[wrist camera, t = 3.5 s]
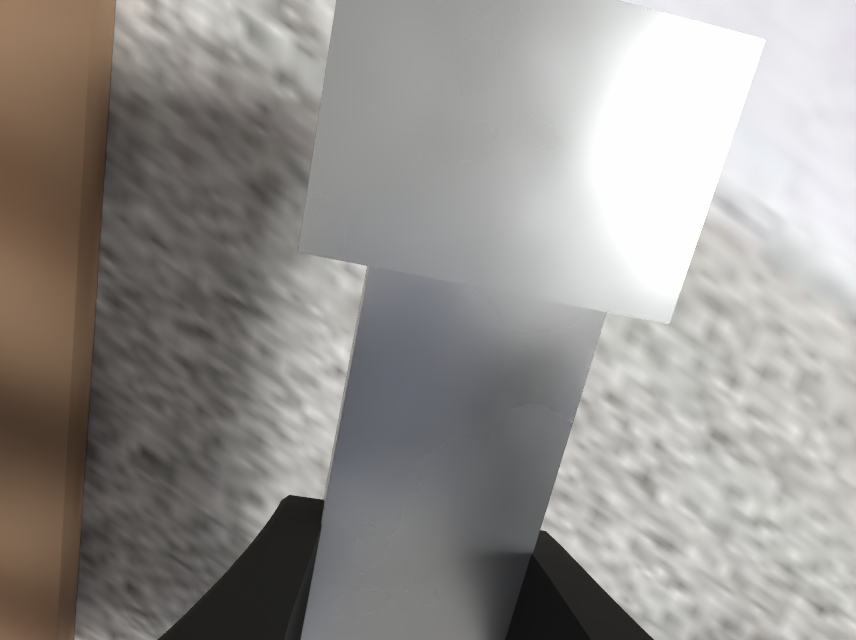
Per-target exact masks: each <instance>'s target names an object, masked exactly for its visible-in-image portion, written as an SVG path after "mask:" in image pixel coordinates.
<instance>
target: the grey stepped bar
mask: <svg viewBox="0 0 856 640" xmlns="http://www.w3.org/2000/svg"><path fill="white" fill-rule="evenodd" d="M764 42H765V39H761V38H757V37H754V36H750V35H746V34H743V33H739V32H735V31H732V30H728V29H724V28H720V27H717V26H713V25H709V24H706V23H702V22H698V21H694V20H691V19H687V18H683V17H680V16H676V15H672V14H669V13H665V12H661V11H657V10H654V9H650V8H646V7H643V6H639V5H635V4H631V3H628V2H624V1H620V0H336V7H335V13H334V20H333V26H332V33H331V39H330V46H329V52H328V59H327V65H326V72H325V78H324V85H323V91H322V98H321V104H320V111H319V117H318V124H317V130H316V137H315V143H314V150H313V156H312V163H311V169H310V176H309V182H308V189H307V195H306V202H305V208H304V215H303V221H302V228H301V234H300V241H299V247H298V252H299V253H305V254H310V255H315V256H320V257H325V258H330V259H335V260H341V261H346V262H351V263H356V264H361V265H366V266H367V270H366V275H365V280H364V286H363V291H362V296H361V302H360V307H359V312H358V318H357V323H356V328H355V334H354V339H353V344H352V350H351V355H350V360H349V366H348V371H347V376H346V382H345V387H344V392H343V398H342V403H341V408H340V414H339V419H338V424H337V430H336V435H335V440H334V446H333V451H332V457H331V462H330V467H329V473H328V478H327V483H326V489H325V494H324V499H323V500H324V507H323V513H322V520H321V525H322V528H321V534H320V539H319V544H318V550H317V555H316V560H315V566H314V571H313V576H312V581H311V587H310V592H309V597H308V603H307V608H306V613H305V619H304V624H303V629H302V635H301V640H505V638H506V635H507V632H508V629H509V625H510V622H511V619H512V616H513V612H514V609H515V606H516V603H517V599H518V596H519V593H520V590H521V586H522V583H523V580H524V576H525V573H526V570H527V567H528V563H529V560H530V557H531V554H532V553H533V551H534V548H535V545H536V542H537V538H538V535H539V532H540V528H541V525H542V522H543V519H544V515H545V512H546V509H547V506H548V502H549V499H550V496H551V493H552V489H553V486H554V483H555V480H556V476H557V473H558V470H559V467H560V463H561V460H562V457H563V453H564V450H565V447H566V444H567V440H568V437H569V434H570V431H571V427H572V424H573V421H574V418H575V414H576V411H577V408H578V405H579V401H580V398H581V395H582V392H583V388H584V385H585V382H586V378H587V375H588V372H589V369H590V365H591V362H592V359H593V356H594V352H595V349H596V346H597V343H598V339H599V336H600V333H601V330H602V326H603V323H604V320H605V317H606V313H607V312H608V313H613V314H618V315H623V316H629V317H634V318H639V319H644V320H649V321H654V322H659V323H665V324H669V323H670V320H671V317H672V314H673V311H674V308H675V305H676V302H677V299H678V296H679V293H680V291H681V288H682V285H683V282H684V279H685V276H686V273H687V270H688V267H689V264H690V261H691V258H692V255H693V252H694V249H695V246H696V243H697V240H698V237H699V234H700V231H701V228H702V226H703V223H704V220H705V217H706V214H707V211H708V208H709V205H710V202H711V199H712V196H713V193H714V190H715V187H716V184H717V181H718V178H719V175H720V172H721V169H722V166H723V164H724V161H725V158H726V155H727V152H728V149H729V146H730V143H731V140H732V137H733V134H734V131H735V128H736V125H737V122H738V119H739V116H740V113H741V110H742V107H743V104H744V101H745V99H746V96H747V93H748V90H749V87H750V84H751V81H752V78H753V75H754V72H755V69H756V66H757V63H758V60H759V57H760V54H761V51H762V48H763V45H764Z"/></svg>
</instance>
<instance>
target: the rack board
mask: <svg viewBox="0 0 856 640" xmlns="http://www.w3.org/2000/svg"><path fill="white" fill-rule="evenodd" d="M115 5H116V0H0V640H74V629H75V614H76V599H77V583H78V568H79V553H80V538H81V523H82V507H83V492H84V477H85V462H86V447H87V431H88V416H89V401H90V386H91V370H92V355H93V340H94V325H95V310H96V294H97V279H98V264H99V249H100V234H101V218H102V203H103V188H104V173H105V158H106V142H107V127H108V112H109V97H110V81H111V66H112V51H113V36H114V21H115Z"/></svg>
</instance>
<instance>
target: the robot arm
mask: <svg viewBox="0 0 856 640" xmlns="http://www.w3.org/2000/svg"><path fill="white" fill-rule="evenodd" d="M323 507H324V500H321V499H314V498H307V497H300V496H293V495H289V496H287V497H286V498H284V499H283V500H281V502H280V504H279V506H278V508H277V509H276V511H275V512H274V514H273V515H272V517H271V518H270V520H269V521H268V522H267V524H266V525H265V527H264V528H263V529H262V530H261V532H260V533H259V534H258V536H257V537H256V538H255V539H254V541H253V542H252V543H251V544H250V546H249V547H248V548H247V549H246V550H245V551H244V553H243V554H242V555H241V556H240V557H239V558H238V559H237V561H236V562H235V563H234V564H233V565H232V566H231V568H230V569H229V570H228V571H227V572H226V573H225V574H224V575H223V576H222V578H221V579H220V580H219V581H218V582H217V583H216V584H215V585H214V586H213V587H212V588H211V589H210V590H209V591H208V592H207V593H206V594H205V595H204V596H203V597H202V598H201V599H200V600H199V601H198V602H197V603H196V604H195V605H194V606H193V607H192V608H191V609H190V610H189V611H188V612H187V613H186V614H185V615H184V616H183V617H182V618H181V619H180V620H179V621H178V622H177V623H175V624H174V625H173V626H172V627H171V628H170V629H169V630H168V631H167V632H166V633H165V634H163V635H162V636H161V637H160V638H159V639H158V640H301V635H302V629H303V624H304V619H305V613H306V608H307V603H308V597H309V592H310V587H311V581H312V576H313V571H314V566H315V560H316V555H317V550H318V544H319V539H320V534H321V528H322V525H321V520H322V513H323ZM505 640H654V639H653V638H652V637H651V636H650V635H648V634H647V633H646V632H645V631H644V630H643V629H642V628H641V627H640V626H639V625H638V624H637V623H636V622H635V621H634V620H633V619H632V618H631V617H630V616H629V615H628V614H627V613H626V612H625V611H624V610H623V609H622V608H621V607H620V606H619V605H618V604H617V603H616V602H615V601H614V600H613V599H612V598H611V597H610V596H609V595H608V594H607V593H606V592H605V591H604V590H603V589H602V588H601V587H600V586H599V585H598V583H597V582H596V581H595V580H594V579H593V578H592V577H591V576H590V575H589V574H588V573H587V572H586V571H585V570H584V569H583V568H582V567H581V566H580V565H579V564H578V563H577V562H576V561H575V560H574V559H573V558H572V557H571V555H570V554H569V553H568V552H567V551H566V550H565V549H564V548H563V547H562V546H561V545H560V544H559V543H558V542H557V541H556V540H555V539H554V538H552V537H551V536H550V535H549V534H548V533H547V532H546V531H542V530H540V532H539V535H538V538H537V542H536V545H535V548H534V551H533V553H532V554H531V557H530V560H529V563H528V567H527V570H526V573H525V576H524V580H523V583H522V586H521V590H520V593H519V596H518V599H517V603H516V606H515V609H514V612H513V616H512V619H511V622H510V625H509V629H508V632H507V635H506V638H505Z"/></svg>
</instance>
